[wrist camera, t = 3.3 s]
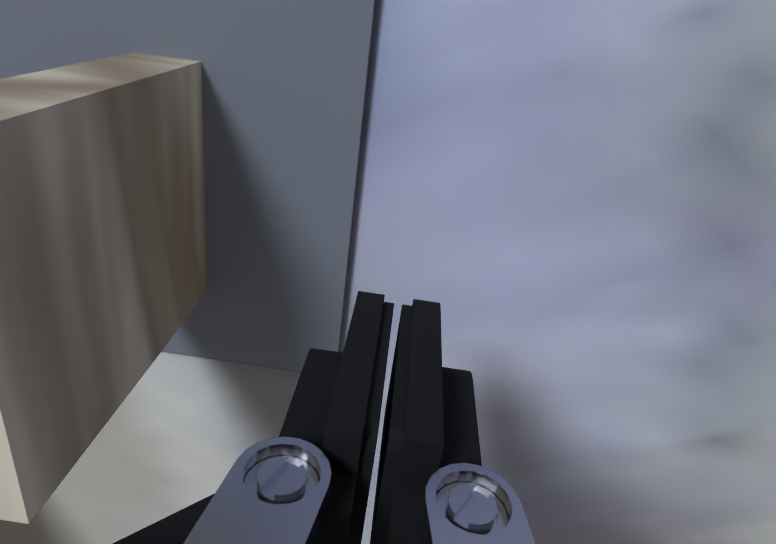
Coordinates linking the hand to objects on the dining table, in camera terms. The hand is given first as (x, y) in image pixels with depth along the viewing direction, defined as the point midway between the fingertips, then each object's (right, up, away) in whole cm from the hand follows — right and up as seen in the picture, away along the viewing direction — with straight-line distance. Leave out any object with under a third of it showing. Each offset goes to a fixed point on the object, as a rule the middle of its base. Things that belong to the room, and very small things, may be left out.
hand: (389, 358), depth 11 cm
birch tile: (-7, +5, +7) cm, 11 cm away
